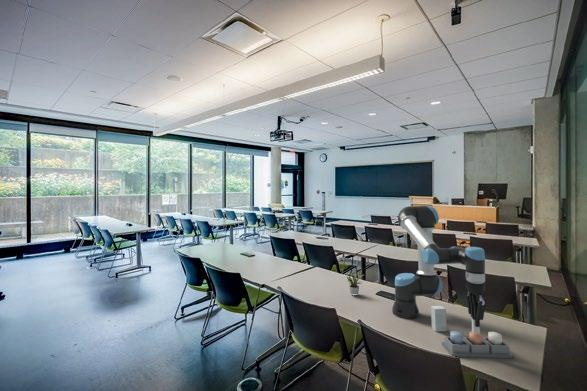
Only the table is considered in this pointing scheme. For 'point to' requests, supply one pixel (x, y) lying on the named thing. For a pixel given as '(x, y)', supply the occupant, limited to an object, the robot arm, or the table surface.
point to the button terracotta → (476, 338)
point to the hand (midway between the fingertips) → (475, 332)
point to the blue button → (456, 337)
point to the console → (477, 349)
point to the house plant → (354, 287)
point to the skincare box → (438, 318)
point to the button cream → (495, 338)
